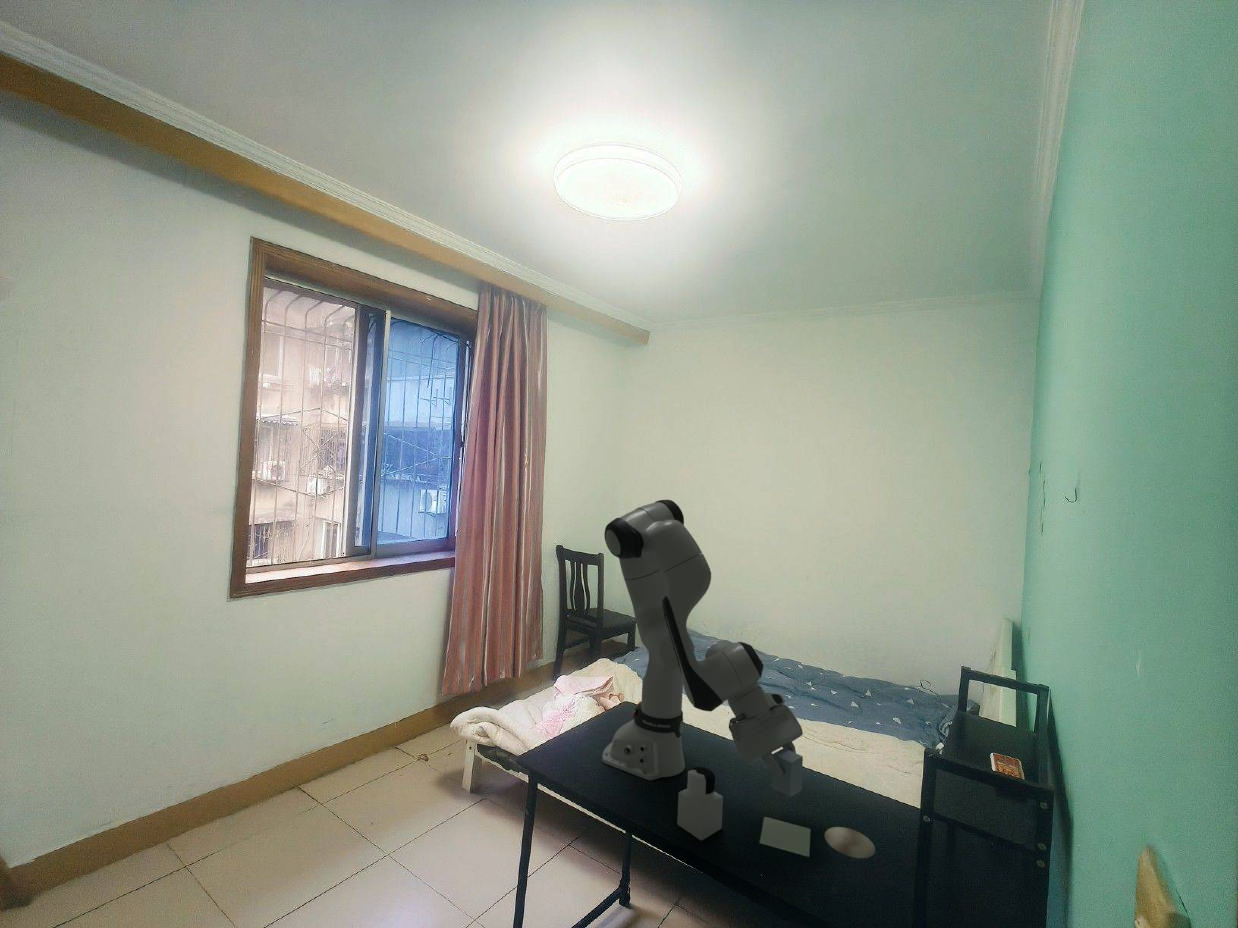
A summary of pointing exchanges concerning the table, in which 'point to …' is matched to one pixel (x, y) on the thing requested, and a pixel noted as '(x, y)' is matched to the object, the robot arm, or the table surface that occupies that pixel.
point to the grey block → (788, 772)
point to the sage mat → (786, 836)
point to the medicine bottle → (700, 804)
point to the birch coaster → (849, 842)
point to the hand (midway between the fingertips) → (789, 770)
